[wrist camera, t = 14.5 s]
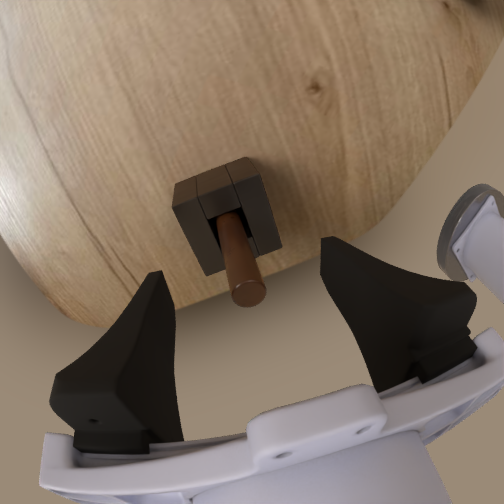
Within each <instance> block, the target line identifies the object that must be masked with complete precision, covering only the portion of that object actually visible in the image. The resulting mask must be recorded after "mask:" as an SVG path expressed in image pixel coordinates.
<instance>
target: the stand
mask: <svg viewBox="0 0 504 504" xmlns="http://www.w3.org/2000/svg"><path fill="white" fill-rule="evenodd" d="M239 207H241V209H242V210H239V211H238V214H239V217H240V219H241V222H242V225H243V227H244V230H245V233H246V236H247V238H248V241H249V244H250V246H251V249H252V252H253V254H254V257H255V258H257V257H259V255H260V256H262V255H264V254H267V253H270V252H272V251H275V250H278V249H280V248H282V243H281V240H280V237H279V234H278V230H277V227H276V224H275V221H274V217H273V214H272V211H271V208H270V205H269V201H268V198H267V195H266V192H265V189H264V186H263V183H262V179H261V176H260V174H259V172H258V171H257V170H256V169H255V167H254V166H253V165H252V163H251V162H250V161H249V160H248V158H247V157H244V158H241V159H238V160H235V161H233V162H230V163H227V164H225V165H222V166H219V167H216V168H214V169H211V170H209V171H206V172H203V173H201V174H198V175H196V176H193V177H191V178H188V179H186V180H183V181H181V182H179V183H176V184H175V188H174V195H173V202H172V209H173V211H174V213H175V215H176V217H177V219H178V222H179V224H180V226H181V228H182V230H183V232H184V234H185V236H186V238H187V240H188V242H189V244H190V246H191V248H192V250H193V252H194V254H195V256H196V258H197V260H198V262H199V264H200V265H201V267H202V269H203V271H204V273H205V275H206V276H209V275H212V274H214V273H217V272H220V271H222V270H225V264H224V259H223V254H222V249H221V244H220V239H219V234H218V229H217V224H216V220H214V217H216V216H218V215H221V214H223V213H226V212H229V211H231V210H234V209H237V208H239Z"/></svg>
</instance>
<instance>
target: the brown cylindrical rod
mask: <svg viewBox="0 0 504 504" xmlns="http://www.w3.org/2000/svg"><path fill="white" fill-rule="evenodd" d="M215 219H216V224H217V229H218V234H219V239H220V244H221V249H222V254H223V259H224V264H225V269H226V273H227V278H228V283H229V288H230V292H231V296H232V300H233V301H234V302H235V303H236V304H237V305H238V306H241V307H253V306H256V305H258V304H259V303H260V302H262V301H263V299H264V298H265V296H266V287H265V284H264V281H263V279H262V276H261V273H260V270H259V268H258V265H257V262H256V260H255V257H254V254H253V252H252V249H251V246H250V244H249V241H248V238H247V236H246V233H245V230H244V227H243V225H242V222H241V219H240V217H239V214H238V211H237V209H234V210H231V211H229V212H226V213H223V214H221V215H218V216H216V217H215Z"/></svg>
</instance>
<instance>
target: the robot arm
mask: <svg viewBox="0 0 504 504" xmlns="http://www.w3.org/2000/svg"><path fill="white" fill-rule="evenodd" d="M452 251H453V252H454V254H455V256H456V257H457V259H458V261H459V263H460V264H461V266H462V268H463V270H464V272H465V273H466V275H467V277H468V279H469V281H470V282H473V281H474V280H475V279H476V278H478V279H479V280H480V281H481V282H482V283H483V284H484V285H485V286H486V287H487V288H488V289H489V290H490V291H491V292H492V293H493V294H494V295H495V296H496V297H497V298H498V299H499V300H500V301H501V302H502V303H503V304H504V219H503V218H502V217H501V216H500V214H499V211H498V208H497V205H496V202H495V199H494V197H493V196H492V195H490V196H489V197H488V199H487V200H486V201H485V203H484V204H483V206H482V207H481V209H480V210H479V211H478V213H477V214H476V216H475V217H474V218H473V220H472V221H471V222H470V224H469V225H468V226H467V228H466V229H465V230H464V232H463V233H462V234H461V236H460V237H459V238H458V239H457V241H456V242H455V243H454V244H453V246H452ZM320 275H321V277H322V280H323V282H324V284H325V286H326V289H327V291H328V293H329V294H330V296H331V298H332V299H333V301H334V303H335V304H336V306H337V307H338V309H339V310H340V312H341V314H342V315H343V317H344V319H345V320H346V322H347V324H348V325H349V327H350V329H351V331H352V333H353V335H354V337H355V339H356V341H357V344H358V346H359V348H360V350H361V353H362V355H363V358H364V360H365V363H366V365H367V368H368V371H369V374H370V376H371V379H372V382H373V385H374V386H370V385H366V384H359V385H354V386H349V387H346V388H343V389H340V390H337V391H334V392H331V393H328V394H325V395H322V396H318V397H315V398H311V399H308V400H304V401H301V402H297V403H293V404H289V405H285V406H281V407H277V408H274V409H271V410H269V411H265V412H262V413H260V414H259V415H257V416H256V417H254V418H253V419H251V420H250V421H249V422H248V425H247V428H246V432H245V433H240V434H235V435H229V436H222V437H215V438H209V439H201V440H192V441H184V438H183V433H182V428H181V422H180V416H179V411H178V404H177V396H176V387H175V377H174V353H175V330H176V329H175V328H176V321H175V307H174V303H173V300H172V297H171V295H170V292H169V289H168V286H167V283H166V281H165V278H164V275H163V272H162V270H161V271H156V272H151V273H149V274H148V275H147V277H146V278H145V280H144V281H143V283H142V284H141V286H140V287H139V289H138V291H137V292H136V294H135V295H134V297H133V298H132V300H131V301H130V303H129V304H128V306H127V307H126V308H125V310H124V311H123V313H122V314H121V315H120V317H119V318H118V319H117V321H116V322H115V323H114V324H113V325H112V326H111V328H110V329H109V330H108V331H107V332H106V333H105V334H104V335H103V336H102V337H101V338H100V339H99V340H98V341H97V342H96V343H95V344H94V345H93V346H92V347H91V348H90V349H89V350H88V351H87V352H86V353H84V354H83V355H82V356H81V357H79V358H78V359H77V360H75V361H74V362H73V363H72V364H70V365H68V366H67V367H66V368H64V369H63V370H61V371H60V372H58V373H57V374H56V376H55V380H54V384H53V387H52V392H51V396H50V400H49V402H50V406H51V408H52V409H53V411H54V412H55V413H56V414H57V415H58V416H59V417H60V418H61V419H62V420H64V421H65V422H66V423H67V424H68V425H70V426H71V427H72V428H73V429H74V430H75V432H74V437H73V436H71V435H68V434H60V433H49V432H47V433H45V439H44V446H43V453H42V461H41V469H40V479H39V485H40V486H41V487H43V488H45V489H47V490H49V491H51V492H53V493H55V494H58V495H60V496H62V497H64V498H67V499H69V500H72V501H74V502H77V503H81V504H452V501H451V499H450V497H449V495H448V493H447V490H446V488H445V486H444V484H443V482H442V480H441V478H440V476H439V474H438V471H437V470H436V467H435V465H434V463H433V462H432V459H431V457H430V455H429V453H428V451H427V449H426V447H425V445H427V444H429V443H431V442H432V441H434V440H435V439H437V438H438V437H440V436H441V435H443V434H444V433H446V432H447V431H449V430H450V429H452V428H453V427H455V426H456V425H457V424H459V423H460V422H462V421H463V420H464V419H466V418H467V417H468V416H470V415H471V414H472V413H474V412H475V411H476V410H478V409H479V408H480V407H482V406H483V405H484V404H485V403H487V402H488V401H489V400H491V399H492V398H493V397H494V396H496V394H497V393H498V392H499V391H500V390H501V388H503V386H504V340H503V339H502V338H501V337H500V336H499V334H498V333H497V332H496V331H495V330H494V328H492V327H490V328H488V329H487V330H485V331H483V332H482V333H480V334H478V335H477V336H476V337H475V338H474V339H473V340H471V339H470V337H469V336H468V335H469V334H470V333H471V331H470V329H469V328H468V327H467V324H468V322H469V320H470V318H471V316H472V314H473V312H474V309H475V307H476V302H477V297H476V294H475V293H474V292H473V291H472V290H471V289H470V287H469V286H468V285H467V284H466V283H465V282H459V281H450V280H442V279H437V278H432V277H428V276H423V275H420V274H416V273H413V272H409V271H406V270H404V269H401V268H398V267H395V266H393V265H390V264H388V263H386V262H384V261H381V260H379V259H377V258H375V257H373V256H371V255H369V254H367V253H365V252H363V251H361V250H359V249H357V248H356V247H354V246H352V245H350V244H348V243H346V242H344V241H343V240H341V239H339V238H337V237H334V236H331V237H326V238H321V266H320Z"/></svg>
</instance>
